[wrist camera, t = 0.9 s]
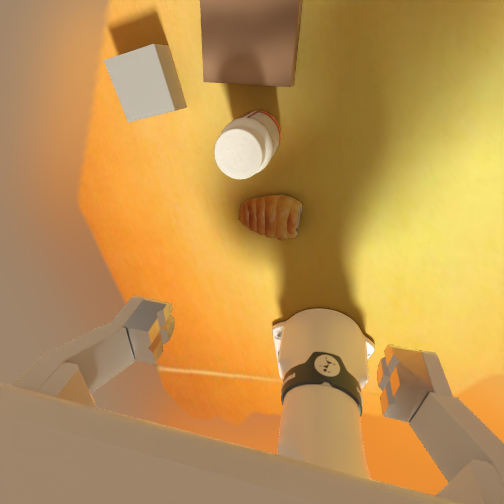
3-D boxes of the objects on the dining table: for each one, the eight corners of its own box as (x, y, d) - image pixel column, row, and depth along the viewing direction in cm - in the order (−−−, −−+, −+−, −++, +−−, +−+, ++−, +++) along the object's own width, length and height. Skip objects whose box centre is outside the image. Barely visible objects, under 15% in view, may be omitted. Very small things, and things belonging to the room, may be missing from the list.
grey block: (187, 107, 40) (175, 110, 37) (143, 117, 42) (128, 122, 39) (169, 45, 37) (153, 43, 33) (122, 60, 39) (103, 60, 35)
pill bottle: (237, 157, 42) (211, 183, 32) (235, 109, 39) (205, 122, 29) (281, 159, 41) (266, 186, 31) (282, 109, 37) (267, 123, 28)
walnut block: (294, 84, 36) (290, 86, 32) (214, 80, 37) (203, 81, 34) (305, -27, 30) (302, -39, 27) (212, -27, 32) (198, -38, 29)
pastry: (241, 228, 48) (235, 239, 45) (241, 188, 44) (234, 197, 41) (299, 235, 46) (297, 247, 43) (304, 193, 43) (302, 203, 40)
